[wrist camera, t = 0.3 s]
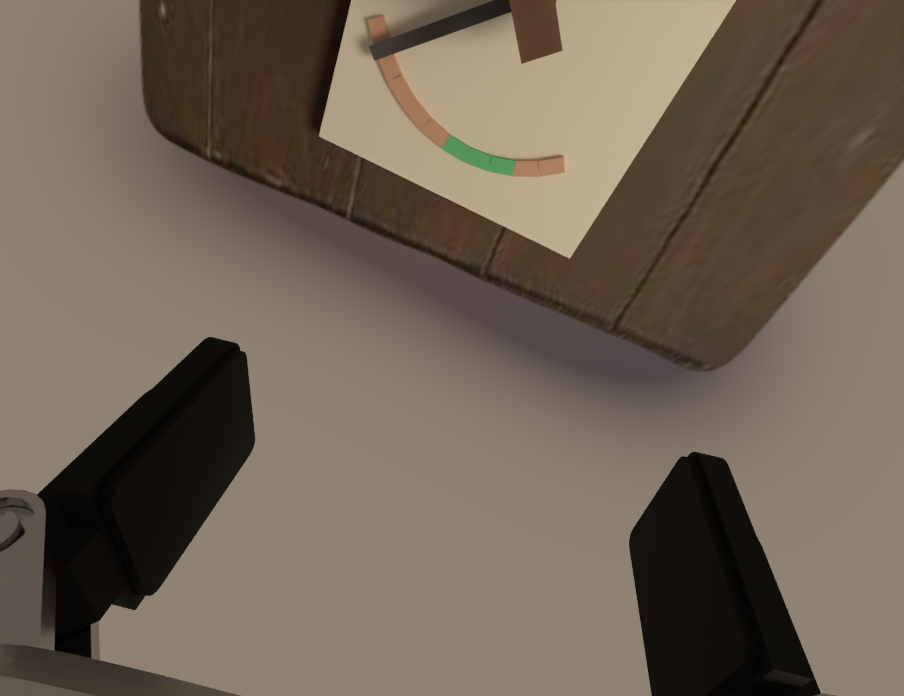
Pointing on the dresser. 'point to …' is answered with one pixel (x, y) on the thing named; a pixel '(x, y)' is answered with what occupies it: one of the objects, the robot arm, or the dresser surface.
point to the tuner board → (515, 104)
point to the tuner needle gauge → (529, 11)
